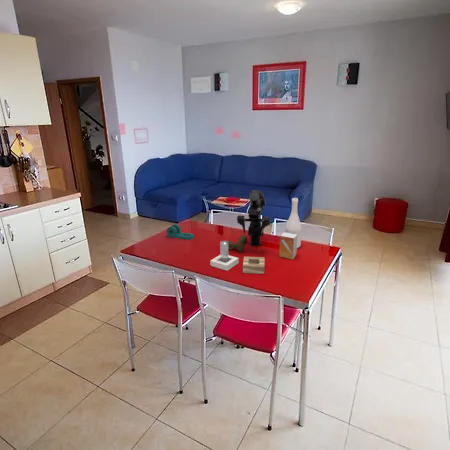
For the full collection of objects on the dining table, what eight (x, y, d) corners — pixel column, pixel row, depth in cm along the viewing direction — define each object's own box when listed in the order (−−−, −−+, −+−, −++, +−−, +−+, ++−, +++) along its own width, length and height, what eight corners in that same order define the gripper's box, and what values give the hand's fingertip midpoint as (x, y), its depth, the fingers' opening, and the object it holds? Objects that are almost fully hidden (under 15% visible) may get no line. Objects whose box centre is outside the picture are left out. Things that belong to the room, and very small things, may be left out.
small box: (279, 256, 179) (279, 235, 175) (282, 252, 185) (283, 232, 180) (292, 259, 176) (294, 238, 171) (296, 255, 181) (297, 234, 176)
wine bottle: (296, 250, 187) (299, 201, 177) (282, 246, 193) (284, 199, 183) (303, 245, 195) (306, 197, 185) (289, 241, 200) (291, 195, 190)
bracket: (167, 237, 212) (166, 226, 210) (172, 234, 218) (171, 223, 215) (191, 240, 206) (190, 229, 203) (195, 237, 212) (195, 226, 209)
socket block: (244, 263, 173) (244, 256, 171) (264, 264, 171) (264, 257, 170) (242, 272, 162) (242, 265, 161) (264, 273, 161) (264, 266, 160)
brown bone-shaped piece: (251, 244, 200) (237, 255, 183) (237, 242, 204) (223, 252, 187) (251, 235, 198) (237, 245, 181) (237, 233, 202) (222, 243, 185)
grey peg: (221, 262, 174) (220, 240, 170) (229, 262, 174) (229, 240, 169) (220, 265, 170) (219, 243, 166) (228, 266, 170) (227, 244, 165)
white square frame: (222, 258, 179) (222, 253, 178) (238, 262, 173) (238, 258, 172) (210, 265, 171) (210, 260, 170) (227, 270, 165) (227, 265, 164)
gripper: (237, 201, 178) (234, 226, 172) (270, 203, 175) (268, 228, 168) (239, 211, 188) (236, 235, 182) (271, 212, 184) (269, 236, 178)
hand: (252, 233), depth 177 cm, fingers open, 9 cm apart
